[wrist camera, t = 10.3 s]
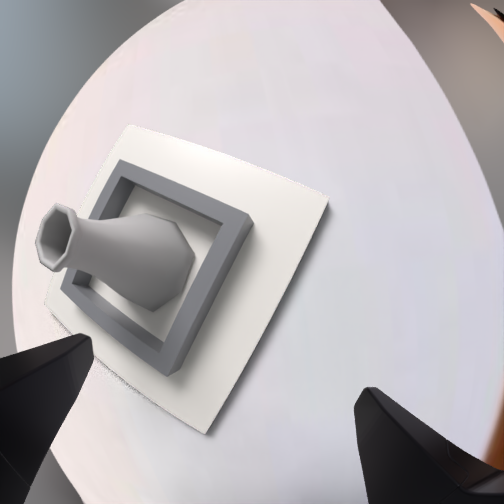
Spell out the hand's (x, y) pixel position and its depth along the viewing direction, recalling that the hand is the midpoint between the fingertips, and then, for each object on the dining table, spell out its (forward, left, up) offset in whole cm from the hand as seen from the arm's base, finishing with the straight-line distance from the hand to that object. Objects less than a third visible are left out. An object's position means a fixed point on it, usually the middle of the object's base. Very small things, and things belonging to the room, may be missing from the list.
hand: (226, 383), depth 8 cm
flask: (+10, 0, -11) cm, 15 cm away
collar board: (+10, 0, -12) cm, 16 cm away
